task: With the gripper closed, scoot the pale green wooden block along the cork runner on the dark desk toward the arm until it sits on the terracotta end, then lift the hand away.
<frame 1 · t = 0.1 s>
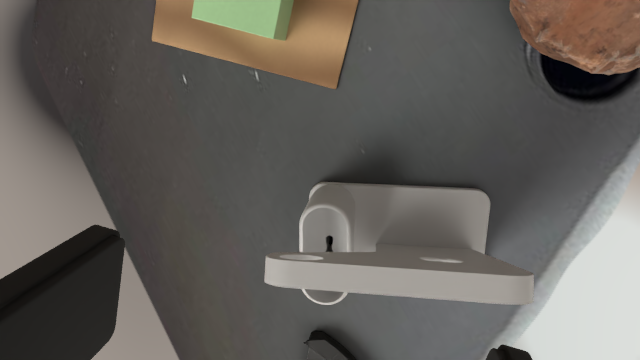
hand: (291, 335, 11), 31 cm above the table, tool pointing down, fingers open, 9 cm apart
phone holder: (393, 231, 43), on the table
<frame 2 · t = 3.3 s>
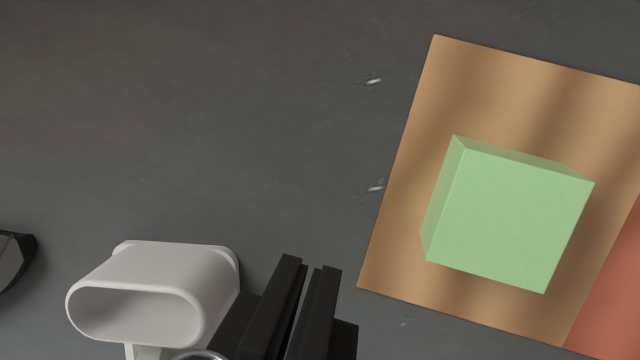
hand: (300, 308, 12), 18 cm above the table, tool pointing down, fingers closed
phone holder: (186, 335, 35), on the table
green block: (487, 198, 28), resting on runner
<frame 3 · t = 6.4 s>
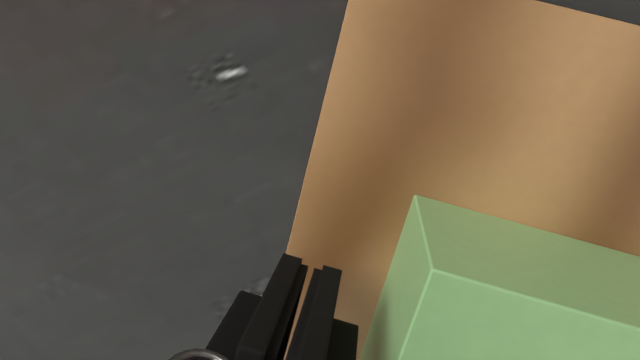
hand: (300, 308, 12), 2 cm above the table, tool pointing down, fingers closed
green block: (492, 331, 13), resting on runner, touching gripper
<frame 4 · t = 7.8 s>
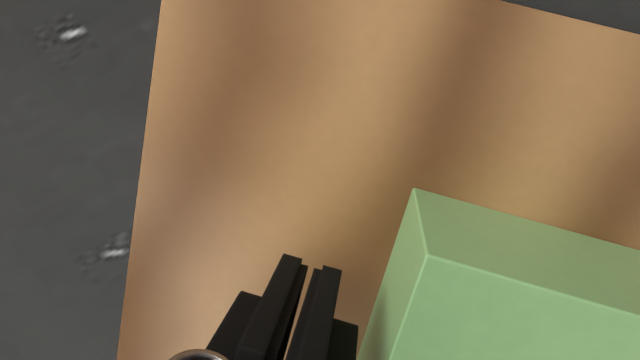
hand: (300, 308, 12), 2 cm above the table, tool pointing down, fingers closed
green block: (490, 323, 13), resting on runner, touching gripper
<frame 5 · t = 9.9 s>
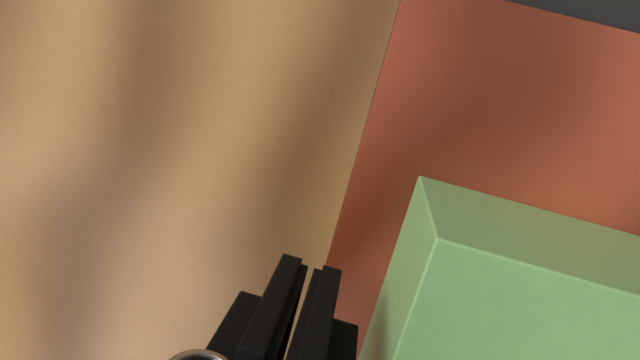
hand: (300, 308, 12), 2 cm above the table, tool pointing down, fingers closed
runner: (556, 349, 13), on the table
green block: (496, 314, 13), resting on runner
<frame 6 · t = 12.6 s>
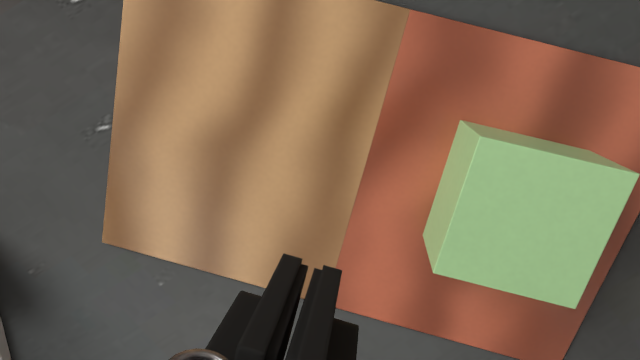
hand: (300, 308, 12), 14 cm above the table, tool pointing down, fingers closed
runner: (490, 207, 24), on the table
green block: (501, 195, 24), resting on runner
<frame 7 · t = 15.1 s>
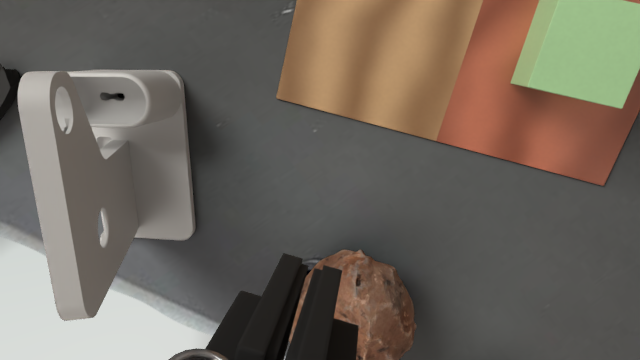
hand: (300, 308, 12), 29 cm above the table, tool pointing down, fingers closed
phone holder: (144, 155, 43), on the table
decorative rock: (354, 289, 44), on the table
runner: (559, 60, 35), on the table
green block: (567, 50, 35), resting on runner
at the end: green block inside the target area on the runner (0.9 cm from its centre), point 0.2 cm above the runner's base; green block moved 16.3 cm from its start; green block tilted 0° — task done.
